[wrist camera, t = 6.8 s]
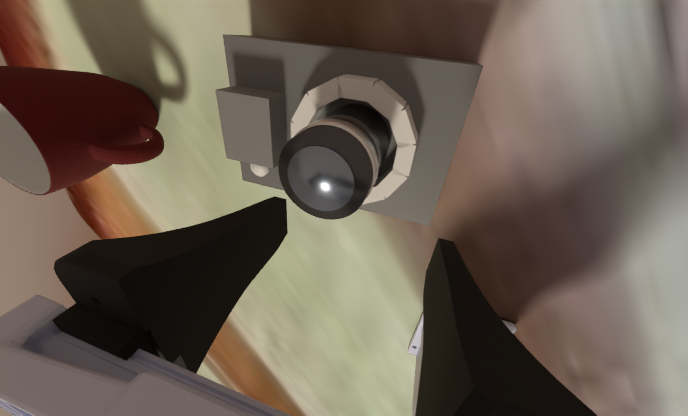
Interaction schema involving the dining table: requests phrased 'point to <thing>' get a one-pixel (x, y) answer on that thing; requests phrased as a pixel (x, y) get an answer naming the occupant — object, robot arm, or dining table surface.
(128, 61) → the dining table surface
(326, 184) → the lens
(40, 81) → the mug
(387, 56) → the camera body
